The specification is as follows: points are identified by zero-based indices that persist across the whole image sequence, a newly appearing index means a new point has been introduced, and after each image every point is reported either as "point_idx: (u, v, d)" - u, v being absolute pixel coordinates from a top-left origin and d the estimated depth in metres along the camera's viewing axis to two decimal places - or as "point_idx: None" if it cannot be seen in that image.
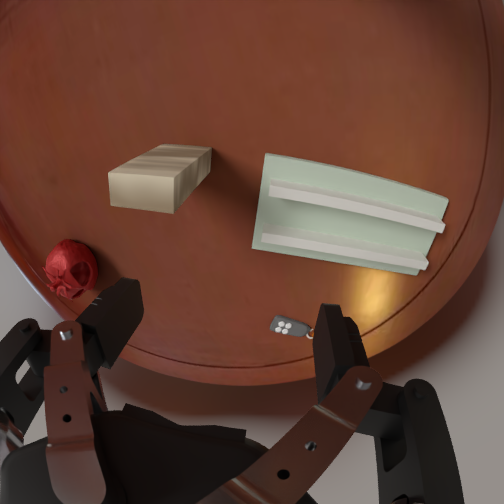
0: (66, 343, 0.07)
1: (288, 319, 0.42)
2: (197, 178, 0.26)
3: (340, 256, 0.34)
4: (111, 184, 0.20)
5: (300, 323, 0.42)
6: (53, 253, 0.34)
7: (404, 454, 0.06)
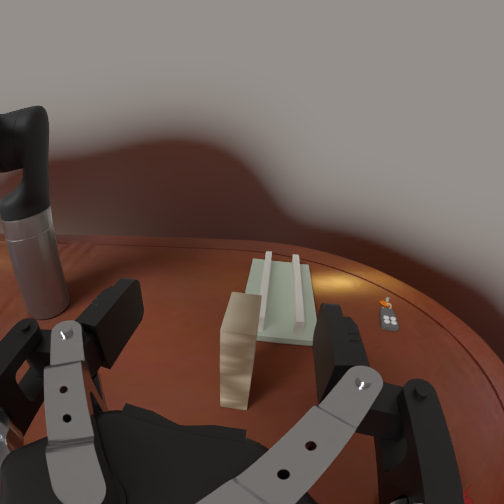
0: (66, 342, 0.07)
1: (381, 320, 0.43)
2: None
3: (308, 297, 0.47)
4: (232, 330, 0.22)
5: (380, 313, 0.45)
6: None
7: (404, 454, 0.06)
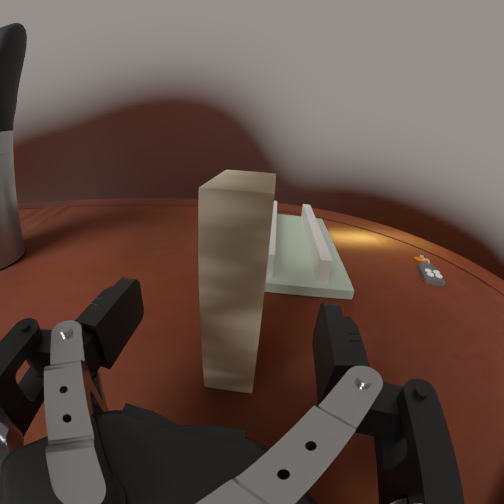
0: (66, 343, 0.07)
1: (422, 274, 0.31)
2: None
3: (328, 245, 0.36)
4: (225, 188, 0.11)
5: (419, 267, 0.33)
6: None
7: (404, 454, 0.06)
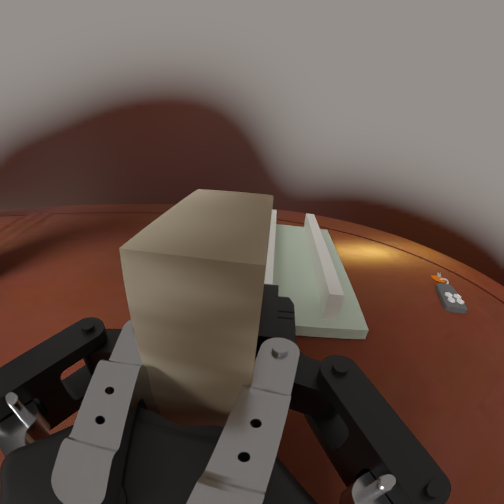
0: (135, 341, 0.08)
1: (442, 298, 0.26)
2: None
3: (335, 265, 0.30)
4: (167, 248, 0.05)
5: (438, 289, 0.28)
6: None
7: (345, 429, 0.07)
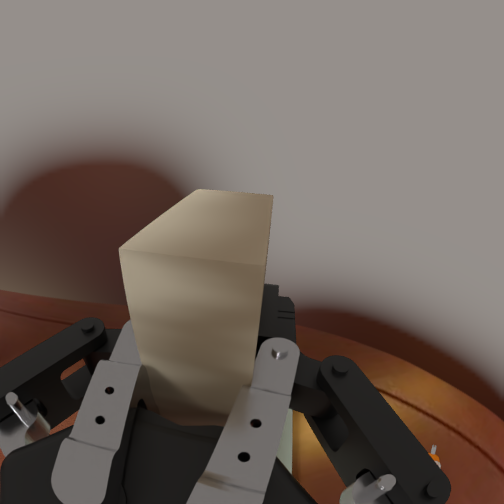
0: (135, 341, 0.08)
1: None
2: None
3: None
4: (166, 249, 0.05)
5: None
6: None
7: (345, 429, 0.07)
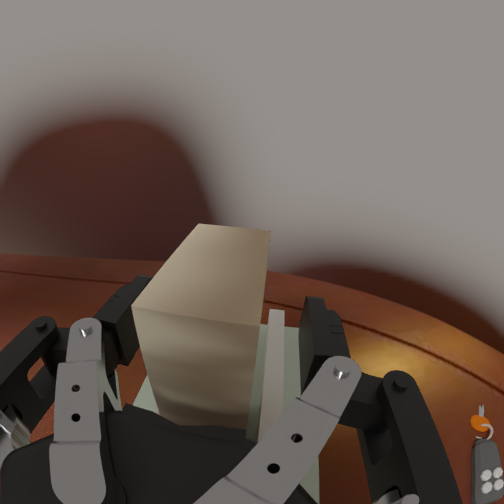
0: (84, 340, 0.07)
1: (474, 483, 0.08)
2: None
3: None
4: (174, 307, 0.06)
5: (474, 460, 0.10)
6: None
7: (390, 445, 0.06)
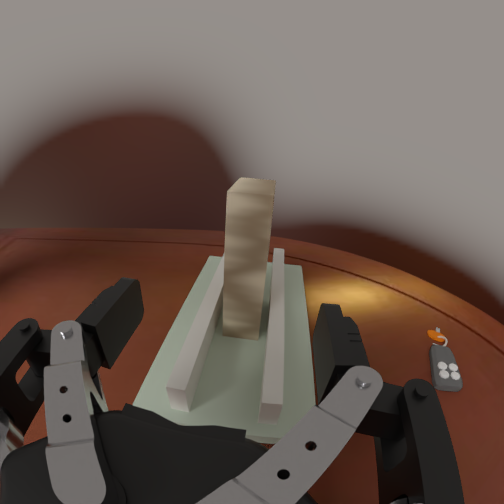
0: (66, 343, 0.07)
1: (433, 370, 0.19)
2: None
3: (298, 327, 0.24)
4: (243, 191, 0.18)
5: (431, 356, 0.21)
6: None
7: (404, 454, 0.06)
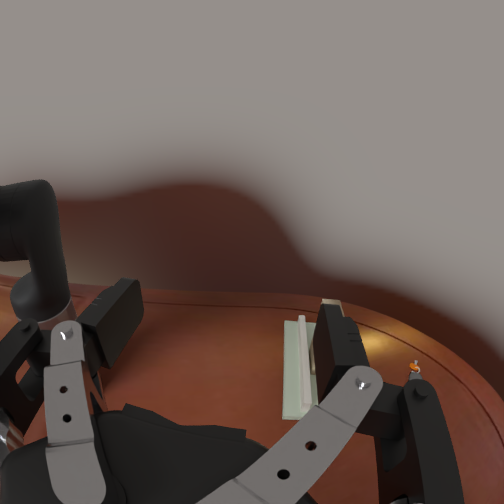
0: (66, 343, 0.07)
1: None
2: None
3: None
4: None
5: (409, 378, 0.42)
6: None
7: (404, 454, 0.06)
